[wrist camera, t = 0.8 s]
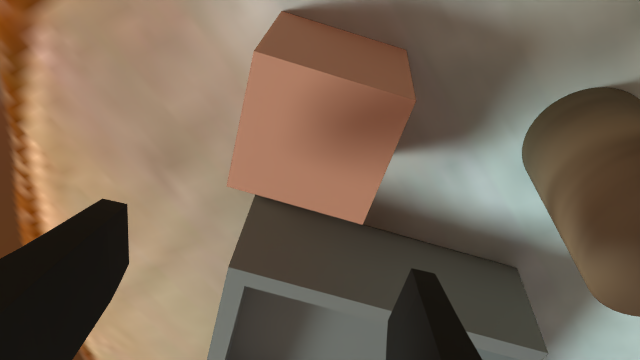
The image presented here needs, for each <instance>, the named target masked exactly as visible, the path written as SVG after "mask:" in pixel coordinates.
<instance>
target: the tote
mask: <svg viewBox="0 0 640 360" xmlns="http://www.w3.org/2000/svg"><path fill="white" fill-rule="evenodd" d="M411 268H413V269H418V270H422V271H427V272H431V273H435V274H436V276H437V278H438V280H439V281H440V283H441V285H442V287H443V289H444V291H445V293H446V295H447V297H448V299H449V301H450V303H451V304H452V306H453V308H454V310H455V312H456V314H457V316H458V318H459V319H460V321H461V323H462V325H463V327H464V329H465V330H466V332H467V334H468V336H469V337H470V339H471V341H472V342H473V344H474V346H475V348H476V349H477V351H478V353H479V355H480V356H481V358H482V360H543V359H544V358H545V356H546V355H547V354H548V351H547V349H546V346H545V343H544V340H543V338H542V335H541V332H540V330H539V327H538V324H537V322H536V319H535V316H534V313H533V311H532V308H531V305H530V303H529V300H528V297H527V295H526V292H525V289H524V286H523V284H522V281H521V278H520V276H519V273H518V270H517V268H514V267H510V266H507V265H503V264H500V263H496V262H493V261H489V260H485V259H482V258H478V257H475V256H471V255H468V254H464V253H461V252H457V251H454V250H450V249H446V248H443V247H439V246H436V245H432V244H429V243H425V242H422V241H418V240H415V239H411V238H408V237H404V236H400V235H397V234H393V233H390V232H386V231H383V230H379V229H376V228H372V227H369V226H365V225H362V224H358V223H354V222H351V221H347V220H344V219H340V218H337V217H333V216H330V215H326V214H323V213H319V212H315V211H312V210H308V209H305V208H301V207H298V206H294V205H291V204H287V203H284V202H280V201H277V200H273V199H269V198H266V197H262V196H259V195H255V197H254V200H253V202H252V205H251V208H250V210H249V213H248V216H247V218H246V221H245V224H244V226H243V229H242V232H241V235H240V237H239V240H238V243H237V245H236V248H235V251H234V253H233V256H232V259H231V261H230V264H229V267H228V271H227V275H226V280H225V284H224V288H223V293H222V297H221V301H220V306H219V310H218V314H217V318H216V323H215V327H214V331H213V336H212V340H211V344H210V349H209V353H208V357H207V360H386V343H387V326H388V319H389V317H390V315H391V312H392V310H393V308H394V306H395V304H396V301H397V299H398V297H399V295H400V292H401V290H402V288H403V286H404V284H405V281H406V279H407V277H408V275H409V272H410V270H411Z"/></svg>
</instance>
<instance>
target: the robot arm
mask: <svg viewBox="0 0 640 360" xmlns="http://www.w3.org/2000/svg"><path fill="white" fill-rule="evenodd" d="M128 265H129V246H128V214H127V204H124V203H120V202H115V201H111V200H106V199H101V200H100V201H98V202H96V203H95V204H93V205H91V206H89V207H88V208H86V209H84V210H83V211H81V212H80V213H78V214H76V215H75V216H73V217H71V218H70V219H68V220H66V221H65V222H63V223H62V224H60V225H58V226H57V227H55V228H53V229H52V230H50V231H48V232H47V233H45V234H43V235H41V236H40V237H38V238H36V239H35V240H33V241H31V242H30V243H28V244H26V245H24V246H23V247H21V248H19V249H17V250H16V251H14V252H12V253H10V254H8V255H6V256H4V257H3V258H1V259H0V360H72V359H73V358H74V356H75V355H76V353H77V352H78V350H79V349H80V347H81V346H82V344H83V343H84V341H85V340H86V338H87V337H88V335H89V334H90V332H91V331H92V329H93V328H94V326H95V324H96V323H97V321H98V320H99V318H100V317H101V315H102V314H103V312H104V311H105V309H106V307H107V306H108V304H109V303H110V301H111V300H112V298H113V296H114V294H115V292H116V290H117V288H118V286H119V284H120V282H121V280H122V277H123V275H124V273H125V271H126V269H127V267H128ZM386 360H482V358H481V356H480V355H479V353H478V351H477V349H476V348H475V346H474V344H473V342H472V341H471V339H470V337H469V336H468V334H467V332H466V330H465V329H464V327H463V325H462V323H461V321H460V319H459V318H458V316H457V314H456V312H455V310H454V308H453V306H452V304H451V303H450V301H449V299H448V297H447V295H446V293H445V291H444V289H443V287H442V285H441V283H440V281H439V280H438V278H437V276H436V274H435V273H431V272H427V271H422V270H418V269H413V268H411V270H410V272H409V275H408V277H407V279H406V281H405V284H404V286H403V288H402V290H401V292H400V295H399V297H398V299H397V301H396V304H395V306H394V308H393V310H392V312H391V315H390V317H389V319H388V326H387V343H386Z"/></svg>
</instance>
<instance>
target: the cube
mask: <svg viewBox="0 0 640 360" xmlns="http://www.w3.org/2000/svg"><path fill="white" fill-rule="evenodd" d="M415 102H416V97H415V92H414V87H413V82H412V77H411V72H410V67H409V62H408V56H407V51H406V50H404V49H401V48H398V47H395V46H392V45H389V44H385V43H382V42H379V41H376V40H373V39H369V38H366V37H363V36H360V35H357V34H353V33H350V32H347V31H344V30H341V29H338V28H334V27H331V26H328V25H325V24H322V23H318V22H315V21H312V20H309V19H306V18H302V17H299V16H296V15H293V14H290V13H286V12H283V11H281V13H280V14H279V16H278V17H277V19H276V20H275V21H274V23H273V24H272V26H271V27H270V29H269V30H268V32H267V33H266V34H265V36H264V37H263V39H262V40H261V42H260V43H259V44H258V46H257V47H256V49H255V50H254V53H253V58H252V63H251V68H250V73H249V78H248V83H247V88H246V93H245V98H244V103H243V107H242V112H241V117H240V122H239V127H238V132H237V137H236V142H235V147H234V152H233V157H232V162H231V167H230V172H229V177H228V182H227V186H228V187H231V188H235V189H238V190H242V191H245V192H249V193H252V194H256V195H259V196H263V197H266V198H270V199H274V200H277V201H281V202H284V203H288V204H291V205H295V206H298V207H302V208H305V209H309V210H312V211H316V212H319V213H323V214H326V215H330V216H333V217H337V218H340V219H344V220H347V221H351V222H355V223H358V224H362V225H363V223H364V220H365V218H366V216H367V214H368V211H369V209H370V207H371V204H372V202H373V200H374V197H375V195H376V193H377V190H378V188H379V186H380V183H381V181H382V179H383V176H384V174H385V172H386V169H387V167H388V165H389V163H390V160H391V158H392V156H393V153H394V151H395V149H396V146H397V144H398V142H399V139H400V137H401V135H402V132H403V130H404V128H405V125H406V123H407V121H408V119H409V116H410V114H411V112H412V109H413V107H414V105H415Z"/></svg>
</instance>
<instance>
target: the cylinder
mask: <svg viewBox="0 0 640 360" xmlns="http://www.w3.org/2000/svg"><path fill="white" fill-rule="evenodd" d="M522 159H523V163H524V167H525V169H526V171H527V173H528V175H529V177H530V179H531V181H532V182H533V184H534V186H535V188H536V190H537V192H538V194H539V196H540V198H541V200H542V201H543V203H544V205H545V207H546V209H547V211H548V213H549V215H550V217H551V219H552V220H553V222H554V224H555V226H556V228H557V230H558V232H559V234H560V236H561V238H562V239H563V241H564V243H565V245H566V247H567V249H568V251H569V253H570V255H571V257H572V258H573V260H574V262H575V264H576V266H577V268H578V270H579V272H580V274H581V275H582V277H583V279H584V281H585V283H586V285H587V287H588V289H589V291H590V292H591V293H592V295H593V296H594V297H595V298H596V299H597V300H598V301H599V302H600V303H602V304H603V305H605V306H606V307H608V308H610V309H612V310H614V311H617V312H620V313H623V314H628V315H632V316H639V317H640V100H639V99H638V98H637V97H635V96H634V95H632V94H630V93H628V92H626V91H623V90H619V89H615V88H591V89H585V90H581V91H578V92H575V93H572V94H569V95H567V96H565V97H563V98H561V99H559V100H558V101H556V102H554V103H553V104H551V105H550V106H549V107H547V108H546V109H545V110H544V111H543V112H542V113H541V114H540V115H539V116H538V117H537V118H536V119H535V120H534V122H533V123H532V125H531V126H530V128H529V130H528V132H527V133H526V136H525V139H524V142H523V147H522Z"/></svg>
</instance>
